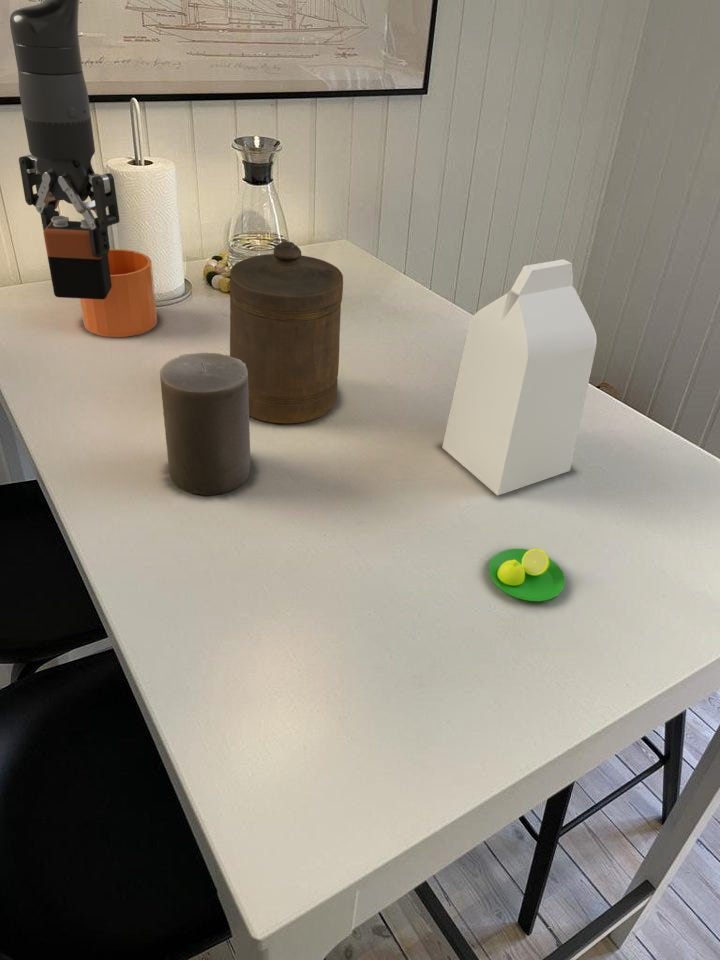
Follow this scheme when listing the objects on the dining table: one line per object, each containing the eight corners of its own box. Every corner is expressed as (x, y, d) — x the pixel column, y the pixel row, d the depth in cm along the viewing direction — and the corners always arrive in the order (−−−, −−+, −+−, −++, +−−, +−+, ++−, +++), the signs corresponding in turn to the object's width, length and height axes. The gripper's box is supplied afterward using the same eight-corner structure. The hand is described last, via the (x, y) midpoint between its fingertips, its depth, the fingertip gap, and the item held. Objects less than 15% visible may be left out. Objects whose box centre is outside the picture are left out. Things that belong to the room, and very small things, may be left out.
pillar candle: (202, 506, 86) (194, 391, 77) (153, 468, 91) (140, 357, 82) (267, 473, 92) (267, 363, 83) (218, 440, 97) (212, 333, 88)
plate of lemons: (519, 543, 84) (524, 523, 83) (578, 582, 80) (585, 563, 78) (472, 573, 80) (476, 553, 78) (532, 617, 75) (538, 597, 74)
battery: (62, 285, 104) (50, 212, 98) (112, 288, 104) (103, 215, 98) (53, 298, 100) (40, 223, 94) (106, 300, 101) (96, 226, 95)
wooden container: (354, 389, 110) (365, 240, 97) (302, 436, 99) (307, 274, 86) (268, 362, 115) (268, 217, 102) (210, 404, 104) (201, 246, 91)
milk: (497, 495, 91) (542, 291, 76) (442, 447, 99) (472, 253, 84) (570, 470, 97) (625, 275, 81) (512, 426, 104) (553, 241, 89)
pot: (68, 324, 120) (57, 263, 115) (120, 301, 129) (112, 244, 123) (121, 344, 116) (113, 282, 110) (171, 319, 124) (166, 260, 119)
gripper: (125, 118, 89) (138, 253, 99) (39, 98, 94) (60, 228, 104) (76, 128, 84) (95, 270, 93) (-12, 106, 89) (15, 242, 98)
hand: (77, 248), depth 99 cm, fingers closed on battery, 8 cm apart
